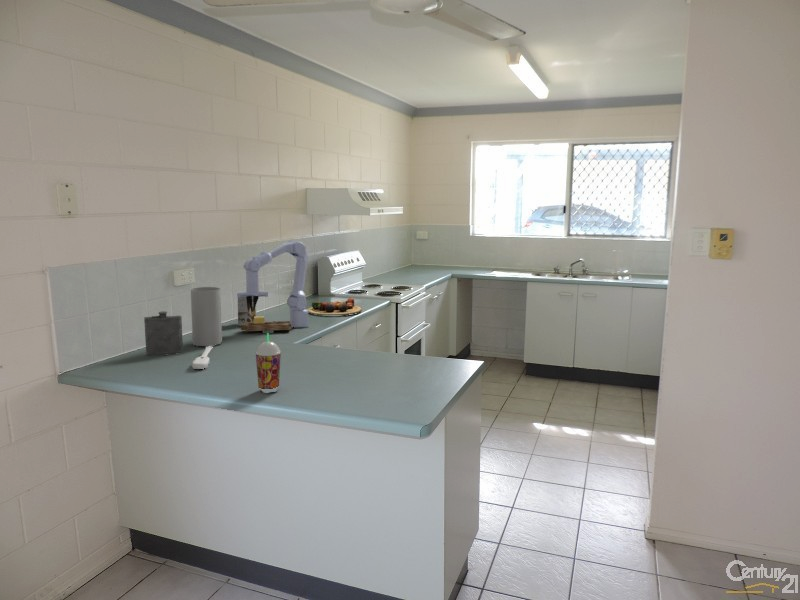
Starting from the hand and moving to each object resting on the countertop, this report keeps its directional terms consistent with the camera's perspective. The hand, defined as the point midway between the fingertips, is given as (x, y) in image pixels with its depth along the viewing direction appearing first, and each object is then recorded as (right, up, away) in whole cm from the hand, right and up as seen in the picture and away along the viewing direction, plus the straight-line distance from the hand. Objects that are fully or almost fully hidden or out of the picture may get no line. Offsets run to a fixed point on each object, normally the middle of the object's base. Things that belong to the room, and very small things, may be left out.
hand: (253, 311), depth 287 cm
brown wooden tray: (+6, -9, +3) cm, 11 cm away
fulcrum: (+7, -10, +3) cm, 13 cm away
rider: (+3, -7, +2) cm, 8 cm away
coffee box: (-8, -8, +19) cm, 22 cm away
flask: (-26, -17, -42) cm, 53 cm away
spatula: (-6, -19, -53) cm, 56 cm away
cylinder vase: (-14, -14, -24) cm, 32 cm away
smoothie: (+28, -26, -88) cm, 96 cm away
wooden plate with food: (+33, -2, +60) cm, 69 cm away
